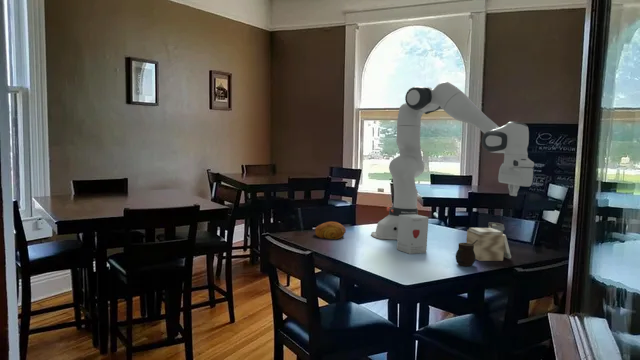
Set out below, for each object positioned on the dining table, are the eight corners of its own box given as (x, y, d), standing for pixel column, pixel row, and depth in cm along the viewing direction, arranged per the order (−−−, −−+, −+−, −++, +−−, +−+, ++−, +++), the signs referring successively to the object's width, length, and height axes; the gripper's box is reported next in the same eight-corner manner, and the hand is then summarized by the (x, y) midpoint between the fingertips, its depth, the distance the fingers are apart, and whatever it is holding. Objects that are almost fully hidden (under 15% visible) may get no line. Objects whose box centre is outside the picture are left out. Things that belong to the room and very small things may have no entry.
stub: (503, 235, 199) (505, 234, 199) (491, 231, 208) (494, 230, 208) (508, 258, 200) (511, 257, 200) (497, 253, 209) (500, 252, 209)
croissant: (346, 239, 242) (348, 222, 242) (342, 240, 226) (344, 222, 227) (317, 236, 244) (318, 219, 245) (311, 237, 229) (312, 219, 229)
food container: (505, 249, 221) (506, 227, 220) (490, 248, 222) (492, 225, 221) (501, 244, 233) (502, 222, 232) (487, 243, 234) (488, 221, 234)
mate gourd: (453, 262, 192) (455, 236, 192) (473, 263, 192) (475, 237, 191) (456, 266, 185) (458, 239, 184) (477, 268, 184) (479, 241, 184)
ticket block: (479, 260, 197) (481, 232, 196) (465, 253, 208) (467, 226, 208) (503, 260, 198) (504, 232, 197) (488, 253, 210) (490, 227, 209)
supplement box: (409, 254, 203) (411, 217, 202) (396, 249, 211) (398, 214, 210) (427, 253, 207) (429, 216, 206) (413, 248, 215) (415, 213, 214)
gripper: (495, 160, 214) (493, 192, 215) (521, 162, 194) (519, 198, 195) (509, 161, 215) (507, 193, 216) (536, 163, 195) (534, 198, 196)
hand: (513, 195), depth 205 cm, fingers closed
